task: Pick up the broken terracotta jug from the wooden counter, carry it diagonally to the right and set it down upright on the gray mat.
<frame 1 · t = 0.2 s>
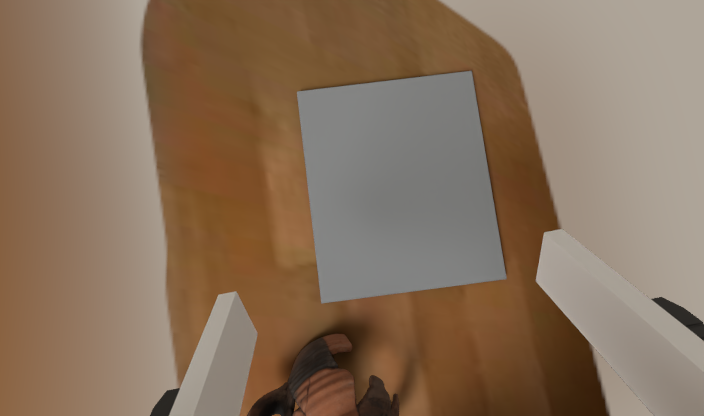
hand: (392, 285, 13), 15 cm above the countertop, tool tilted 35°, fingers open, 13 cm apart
broken terracotta jug: (327, 389, 27), on the countertop
gray mat: (398, 184, 29), on the countertop
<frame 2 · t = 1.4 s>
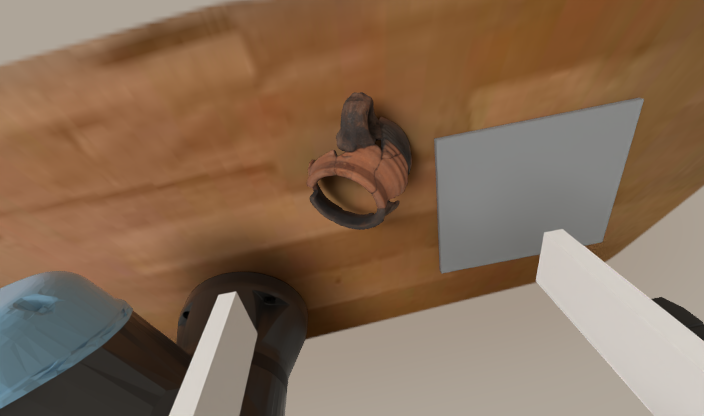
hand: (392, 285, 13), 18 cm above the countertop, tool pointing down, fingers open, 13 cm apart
broken terracotta jug: (358, 150, 30), on the countertop
gray mat: (526, 195, 33), on the countertop
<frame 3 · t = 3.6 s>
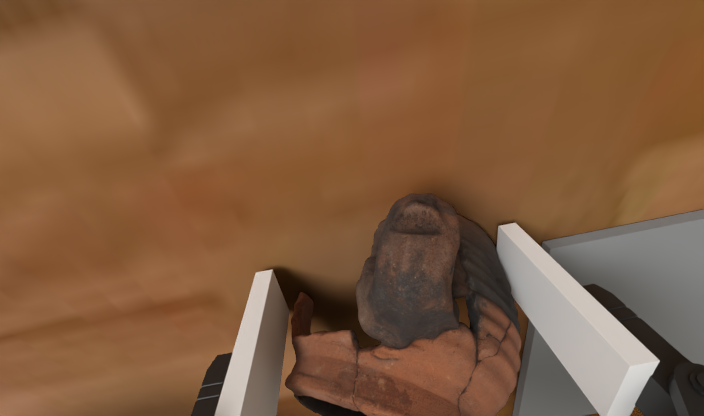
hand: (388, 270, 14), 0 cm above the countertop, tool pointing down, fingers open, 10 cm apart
broken terracotta jug: (392, 265, 15), on the countertop, touching gripper
gray mat: (682, 319, 19), on the countertop
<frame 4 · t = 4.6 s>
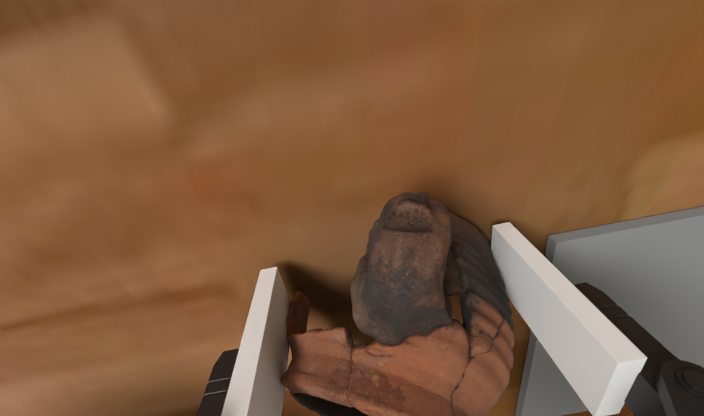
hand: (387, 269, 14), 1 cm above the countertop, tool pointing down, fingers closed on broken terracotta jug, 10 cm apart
broken terracotta jug: (388, 264, 15), on the countertop, touching gripper
gray mat: (687, 315, 19), on the countertop
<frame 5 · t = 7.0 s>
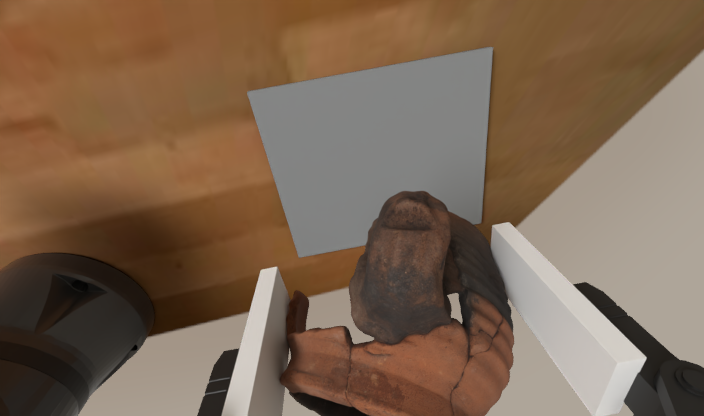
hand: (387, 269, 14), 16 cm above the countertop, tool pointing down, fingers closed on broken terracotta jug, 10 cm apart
broken terracotta jug: (387, 263, 15), point 15 cm above the countertop, touching gripper
gray mat: (380, 165, 29), on the countertop
when the fingers open (2 cm above the countertop, at t = 9.3 s): broken terracotta jug stays where it is, resting on gray mat.
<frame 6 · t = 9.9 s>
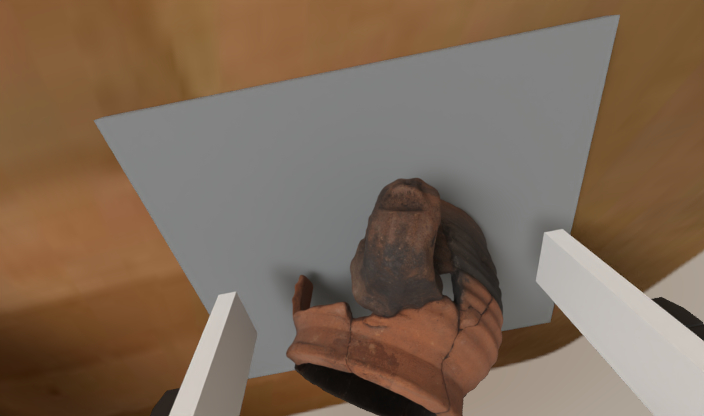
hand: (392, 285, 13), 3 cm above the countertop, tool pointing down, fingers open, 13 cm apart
broken terracotta jug: (387, 251, 16), resting on gray mat
gray mat: (379, 240, 16), on the countertop
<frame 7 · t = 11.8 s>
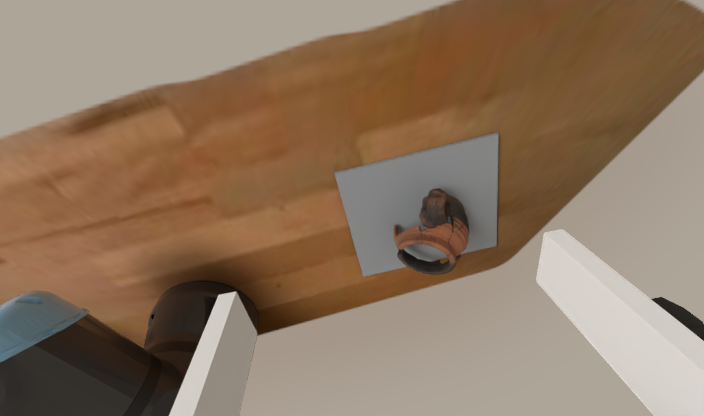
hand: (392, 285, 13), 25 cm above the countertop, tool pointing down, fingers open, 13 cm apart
broken terracotta jug: (426, 215, 41), resting on gray mat
gray mat: (421, 211, 41), on the countertop
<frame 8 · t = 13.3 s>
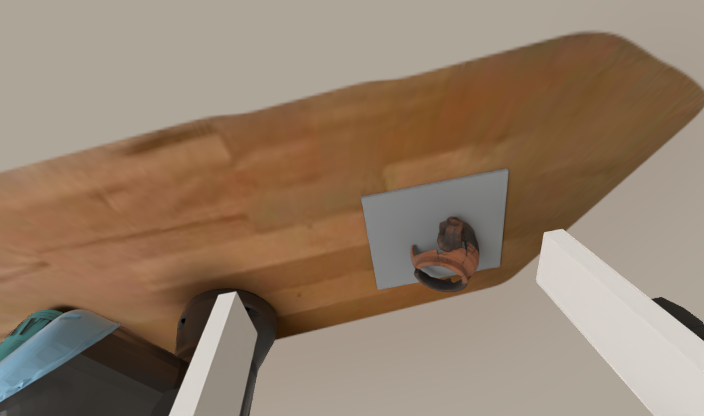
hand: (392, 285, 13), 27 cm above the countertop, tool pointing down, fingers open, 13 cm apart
broken terracotta jug: (440, 237, 45), resting on gray mat
gray mat: (435, 233, 45), on the countertop
beverage bottle: (62, 314, 47), on the countertop
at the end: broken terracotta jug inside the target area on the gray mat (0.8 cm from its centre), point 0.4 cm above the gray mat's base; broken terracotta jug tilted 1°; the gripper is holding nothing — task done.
